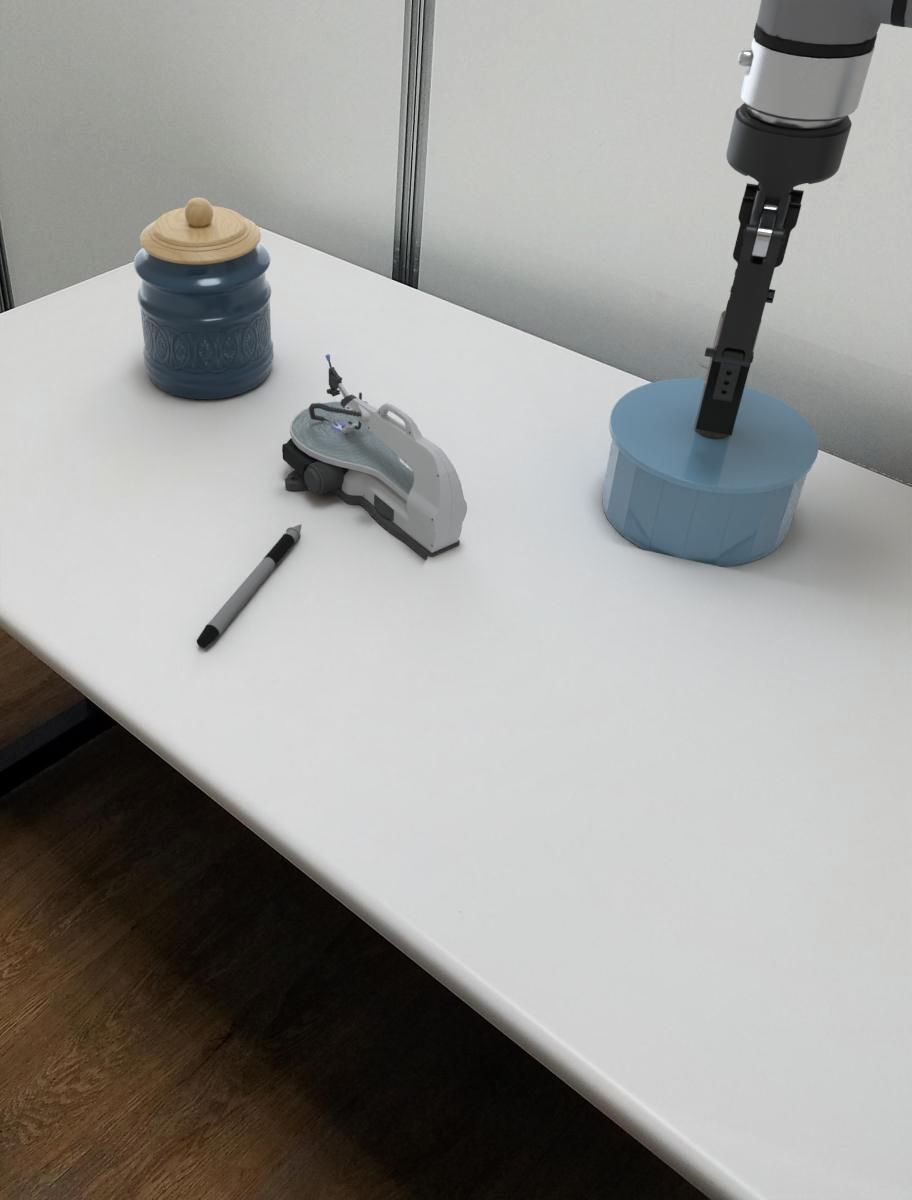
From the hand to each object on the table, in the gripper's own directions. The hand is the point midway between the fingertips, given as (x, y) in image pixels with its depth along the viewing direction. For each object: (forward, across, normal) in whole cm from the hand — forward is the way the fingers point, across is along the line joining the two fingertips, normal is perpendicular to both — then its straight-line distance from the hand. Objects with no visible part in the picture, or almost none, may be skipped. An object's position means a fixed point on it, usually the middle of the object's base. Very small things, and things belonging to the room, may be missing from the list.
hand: (720, 402), depth 94 cm
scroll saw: (+11, +8, -26) cm, 29 cm away
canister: (+11, -7, -49) cm, 51 cm away
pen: (+11, +23, -31) cm, 40 cm away
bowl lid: (+3, 0, 0) cm, 3 cm away
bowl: (+11, 0, 0) cm, 11 cm away
